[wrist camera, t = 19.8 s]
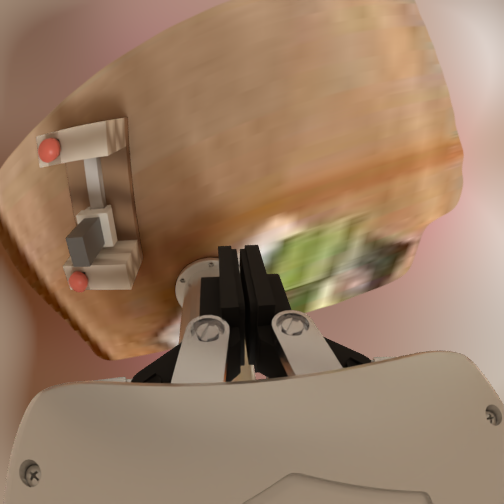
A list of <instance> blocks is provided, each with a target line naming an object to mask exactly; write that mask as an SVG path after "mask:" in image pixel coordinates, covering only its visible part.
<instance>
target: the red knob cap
mask: <svg viewBox="0 0 504 504" xmlns="http://www.w3.org/2000/svg"><path fill="white" fill-rule="evenodd" d="M69 285H70V287H71V288H72V289H73V290H74V291H76V292H83V291H85V289H86V287H87V286H88V278H87V277H86V275H85V272H79V271H75V272H73V273H72V275H71V276H70V278H69Z"/></svg>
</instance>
